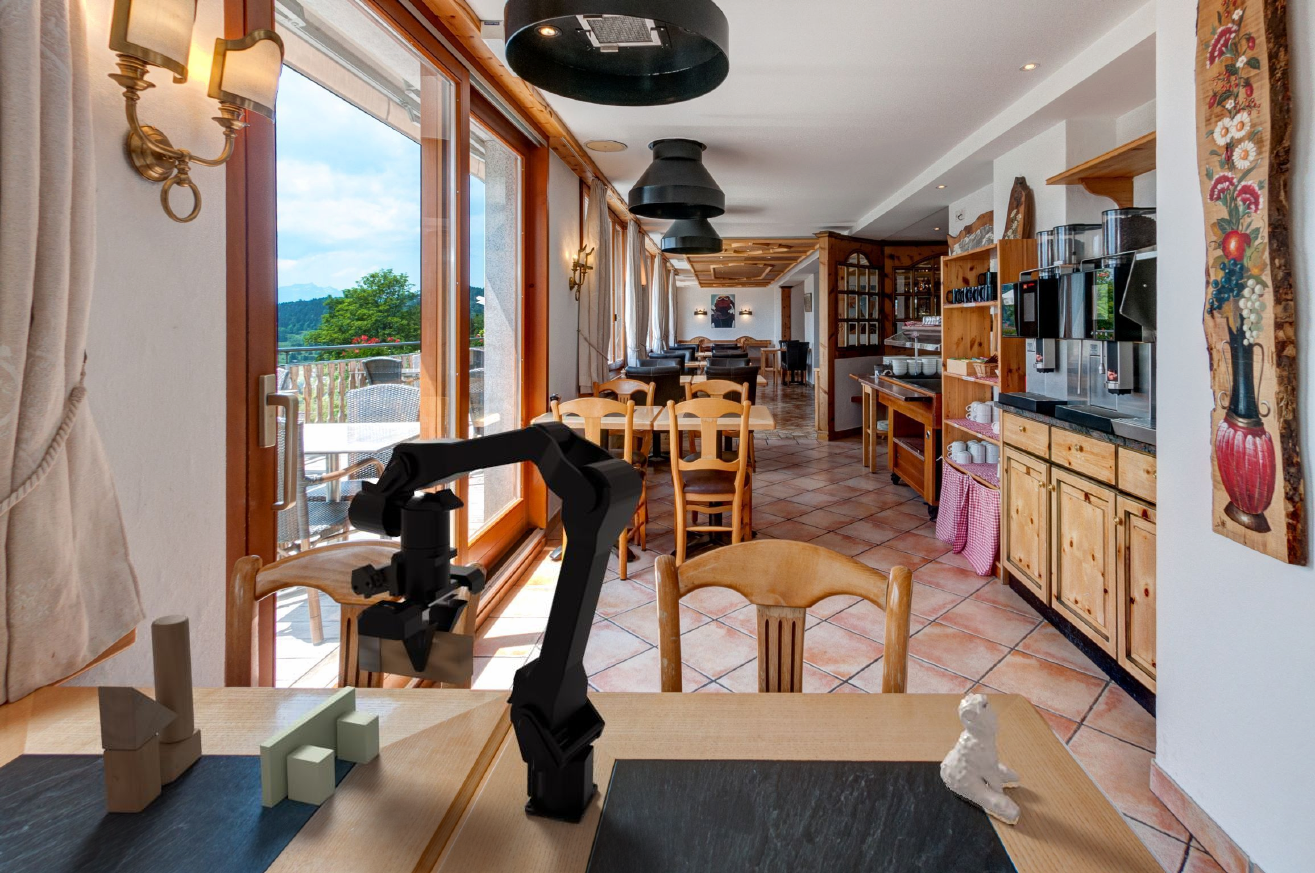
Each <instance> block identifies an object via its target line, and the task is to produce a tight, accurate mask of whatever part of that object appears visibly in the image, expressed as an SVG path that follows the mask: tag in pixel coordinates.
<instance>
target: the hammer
mask: <svg viewBox="0 0 1315 873" xmlns="http://www.w3.org/2000/svg"><path fill="white" fill-rule="evenodd" d="M357 635H358V634H357ZM357 640H358V670H359V671H364V672H370V673H377V674H382V673H383V674H389V675H394V676H395V675H396V676H401V677H407V678H413V679H419V680H425V681H431V682H437V683H444V684H449V685H456V686H461V685H463V684H464V683H465V682H466V681H467V680H469V679H470V678H471V677H473V676H474V635H470V634H462V633H455V632H452V633H449V632H442V631H435V635H434V638H433V642H432V646H431V650H430V653H429V657H428V661H427V664H426V667H425V670H424V671H423V672H416V671H415V670H414V668H413V666H412V663H411V661H410V658H409V656H408V654H407V651H406V649H405V646H404V644H403V642H402V640H399V641H395V640H389V639H382V638H375V637H369V636H362V635H358V639H357Z"/></svg>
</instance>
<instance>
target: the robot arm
mask: <svg viewBox="0 0 1315 873" xmlns="http://www.w3.org/2000/svg"><path fill="white" fill-rule="evenodd" d="M529 461H530V462H531V463H533V464H534V466H536V467H537V469H538V471H539V474H540V475H541V477H542V480H543V482H544V484H545V486H546V487H547V488H548V489H549V490H550V491H551V492H552V493H553V494H554V495H555V496H557V498H559V500H561V503H560V506H561V507H560V520H561V523H562V527H563V529H564V533H565V536H566V544H565V547H564V548H565V549H564V553H563V556H562V560H561V565H560V568H559V572H558V573H559V574H558V578H557V581H556V586H555V590H554V593H553V598H552V602H551V606H550V610H549V614H548V619H547V623H546V627H545V631H544V634H543V638H542V643H541V647H540V652H539V654H538V657H536V658H534V659H532V660H531V661H529V662H528V663H526V664H524V665H523V666H520V667H519V668H517V669H516V670H515V673H514V676H513V680H512V691H511V694H510V695H509V697H508V699H507V700H506V703H507V704H508V705H509V704H510V705H511V706H510V707H509V718H510V720H509V721H510V723H511V724H512V726H513V729H514V733H515V738H516V741H517V744H518V748H519V753H520V756H521V759H522V761H523V763H525V764H526V795H527V797H528V798H529V800H528V801H527V802H526V804H525V805H524V813H527V814H529V815H535V816H540V817H545V818H550V819H555V820H559V821H565V822H570V823H575V824H577V823H581V821H582V819H583V818H584V816H585V814H586V812H587V811H588V809H589V807H590V805H591V803H592V801H593V799H594V797H595V796H596V794H597V792H598V789H599V785H598V784H597V783H595V782H594V762H595V761H594V760H595V759H594V754H595V752H594V751H595V745H594V744H592V743H593V742H595V741H596V740H598V739H599V738H601V737H602V734H603V731H604V729H605V726H606V722H605V720H604V719H603V717H602V716H601V714H600V713H599V711H598V709H597V708H596V707H595V706H594V704H593V702H592V701H591V700H590V698H589V697H588V686H589V679H588V674H587V672H586V669H585V666H584V656H585V654H586V649H587V646H588V641H589V638H590V634H591V630H592V625H593V622H594V618H595V615H596V612H597V607H598V603H599V599H600V596H601V593H602V588H603V584H604V581H605V580H604V579H605V576H606V573H607V568H608V564H609V561H610V557H611V554H612V549H613V548H614V545H615V543H616V542H617V540H618V539H619V538H620V537H621V535H622V533H623V532H624V531H625V529H626V528H627V526H628V525H629V524H630V522H631V520H632V518H633V516H634V514H635V512H636V509H637V507H638V505H639V503H640V501H641V499H642V496H643V492H644V483H643V479H642V478H641V476H640V474H639V472H638V470H637V469H636V468H635V466H634V465H633V464H632V463H631V462H629V461H627V460H626V459H621V458H618V457H616V456H615V455H614V454H612V452H610V451H609V450H608V449H606V448H604V447H602V446H601V445H599V444H597V443H595V442H593V441H591V440H590V439H587V438H586V437H584V436H581V435H580V434H578V433H577V432H576V431H575V430H573V429H572V428H571V427H570V426H569V425H567V424H565V423H564V422H561V421H559V420H554V421H553V420H552V421H542V422H536V423H535V422H534V423H531V424H529V425H527V426H526V427H523V428H517V429H512V430H508V431H501V432H498V433H492V434H487V435H484V436H478V437H474V438H469V439H463V438H453V437H438V438H437V437H436V438H428V439H421V440H415V441H413V440H412V441H407V442H405V441H404V442H400V443H398V444H395V446H394V447H393V448H392V453H391V456H390V458H389V460H388V462H387V464H386V466H385V467H384V469H383V471H382V473H381V474H380V476H379V478H378V477H377V478H376V477H372V478H367V479H366V478H365V479H362V480H361V481H360V482H361V484H360V486H361V487H360V488H361V489H360V490H359V491H357V492H356V493H355V495H353V498H352V499H351V500H350V501H351V502H350V503H349V504H350V505H349V507H348V508H347V515H348V516H347V518H348V520H349V523H350V524H351V526H352V527H353V528H354V529H355V530H357V531H360V532H365V533H369V534H374V535H379V536H383V537H388V538H389V537H390V538H399V540H400V550H399V551H397V552H394V553H393V554H392V555H391V557H390V561H389V562H386V563H382V564H378V565H376V566H373V564H371V563H367V564H366V565H361V566H358V567H356V568H354V569H352V570H351V575H350V585H351V586H350V587H351V590H352V591H353V593H354V594H355V595H356V596H363V599H364V600H368V599H371V598H372V597H373V596H376V595H379V594H381V595H382V594H383V593H387V592H388V596H389V597H393V598H399V597H403V601H402V602H401V601H394V600H388V599H382V600H379V601H376V603H373V604H372V605H371V604H370V605H369V606H367V607H366V608H364V609H362V610H361V611H360V612H359V613H358V614H357V615H356V634H357V635H362V636H369V637H375V638H382V639H389V640H395V641H399V640H402V642H403V644H404V646H405V649H406V651H407V654H408V656H409V658H410V661H411V663H412V666H413V668H414V670H415V671H416V672H423V671H424V670H425V667H426V664H427V661H428V657H429V653H430V650H431V646H432V642H433V638H434V635H435V631H442V632H449V633H454V632H453V631H454V629H455V628H456V625H457V623H458V622H459V619H460V617H461V615H462V614H463V612H464V610H465V608H466V607H467V606H468V605H469V600H467V599H460V598H459V593H457V590H458V589H460V588H462V587H464V588H467V591H468V593H469V594H470V595H472V596H473V595H477V594H479V593H480V592H482V591H483V590H485V589H486V576H485V573H484V572H483V571H482V570H481V569H480V568H479V567H475V566H464V565H456V564H451V560H452V559H454V558H456V557H458V547H453V546H451V511H454V510H458V509H462V508H464V506H465V502H464V501H463V500H462V499H461V498H460V497H458V496H457V495H456V494H455V493H454V492H453V490H452V488H450V487H449V488H444V489H440V490H436V491H435V492H430V491H423V490H427V489H432V488H435V487H438V486H442V485H446V484H447V485H448V484H450V483H452V482H455V481H457V480H460V479H462V478H464V477H466V476H467V475H469V474H470V473H473V472H475V471H477V470H484V469H490V468H495V467H501V466H507V465H513V464H517V463H523V462H529ZM419 491H420V492H419ZM415 492H418V493H416V494H415Z"/></svg>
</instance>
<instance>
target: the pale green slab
mask: <svg viewBox="0 0 1315 873" xmlns="http://www.w3.org/2000/svg"><path fill="white" fill-rule="evenodd" d="M356 705H357V704H356V687H354V686H348V685H346V686H345V687H343V688H342V689H340V690H339V691H338V692H336V693H335V694H333V695H332V696H330V697H328V698H327V699H326V700H324V701H322V702H321V703H320V704H318V705H317V706H315V707H314V708H313V709H311V710H310V711H308V712H306V713H305V714H304V715H302V716H300V718H298V719H296V720H295V721H293V722H292V723H290V724H288V725H287V726H286V727H284V728H283V729H282V730H280V731H279V732H277V733H276V734H274V735H273V736H272V737H270V738H268V739H267V740H265V741H264V742H263V743H261V744H260V745H259V752H260V753H259V754H260V755H259V756H260V778H261V779H260V780H261V781H260V782H261V800H262V802H261V805H262V806H263V807H267V808H270V809H271V808H273V807H275V805H277V804H278V803H279V802H280V801H283V799H285V798H286V797H287V796H288V800H292V801H296V802H300V803H301V802H302V803H306V804H311V805H315V806H321V805H322V804H323V803H324V802H325V801H326V800H328V799H329V798H330V797H331V796H332V795H333V794H334V793H335V792H336V777H335V776H336V774H335V772H336V771H335V757H336V756H337V759H338V760H342V761H348V762H354V763H358V764H363V765H368V764H369V763H370V762H371V761H372V760H373V759H375V757H376V756H378V755H379V754H380V720H379V718H380V716H379V714H377V713H370V712H366V711H365V712H364V711H359V710H357V709H356Z"/></svg>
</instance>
